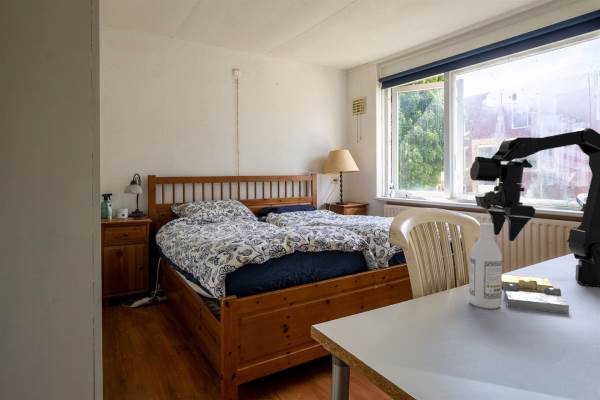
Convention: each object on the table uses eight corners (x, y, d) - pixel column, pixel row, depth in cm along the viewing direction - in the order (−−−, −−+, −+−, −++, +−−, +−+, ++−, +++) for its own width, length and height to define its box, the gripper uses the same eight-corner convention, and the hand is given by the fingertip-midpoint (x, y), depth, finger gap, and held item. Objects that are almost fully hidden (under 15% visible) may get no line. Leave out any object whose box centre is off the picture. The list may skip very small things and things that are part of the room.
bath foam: (505, 304, 89) (508, 223, 87) (493, 312, 85) (495, 226, 83) (477, 297, 94) (478, 220, 93) (464, 303, 90) (465, 223, 88)
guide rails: (550, 286, 102) (550, 283, 102) (561, 299, 91) (561, 296, 91) (495, 280, 107) (495, 278, 107) (499, 293, 97) (500, 290, 97)
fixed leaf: (558, 300, 91) (558, 287, 91) (568, 313, 83) (569, 300, 82) (503, 294, 96) (504, 282, 96) (508, 306, 87) (508, 293, 87)
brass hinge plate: (547, 285, 103) (547, 274, 103) (555, 296, 94) (555, 283, 94) (498, 281, 108) (499, 270, 107) (502, 290, 99) (502, 279, 99)
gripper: (468, 180, 113) (462, 230, 114) (494, 182, 94) (487, 241, 96) (506, 182, 112) (500, 233, 113) (539, 185, 93) (532, 245, 95)
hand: (503, 237), depth 104 cm, fingers open, 9 cm apart
